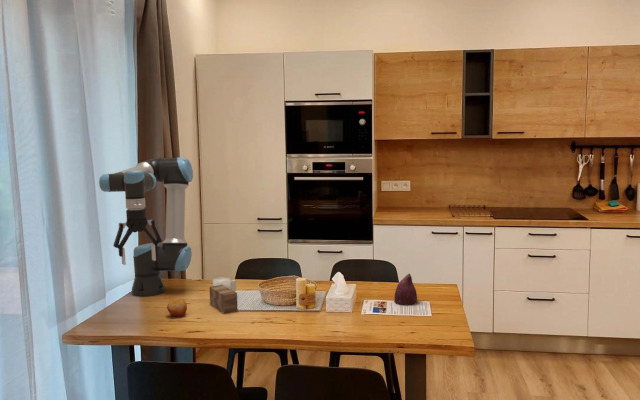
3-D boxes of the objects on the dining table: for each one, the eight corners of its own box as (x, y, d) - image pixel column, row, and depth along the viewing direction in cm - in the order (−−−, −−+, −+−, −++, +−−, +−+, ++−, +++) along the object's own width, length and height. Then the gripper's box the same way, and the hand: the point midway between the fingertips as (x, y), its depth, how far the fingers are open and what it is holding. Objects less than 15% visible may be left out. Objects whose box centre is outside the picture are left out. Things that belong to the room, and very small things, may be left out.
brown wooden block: (210, 304, 260) (209, 286, 259) (222, 302, 263) (222, 284, 262) (224, 313, 247) (223, 295, 246) (237, 311, 250) (236, 292, 249)
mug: (210, 297, 270) (209, 278, 269) (232, 294, 276) (231, 275, 275) (217, 302, 263) (216, 282, 262) (239, 298, 269) (238, 278, 268)
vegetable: (420, 310, 256) (428, 279, 251) (399, 310, 252) (407, 279, 247) (408, 298, 265) (417, 268, 260) (388, 298, 261) (396, 268, 256)
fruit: (191, 307, 251) (187, 295, 246) (186, 322, 245) (182, 309, 240) (172, 307, 252) (168, 294, 247) (167, 322, 245) (163, 309, 241)
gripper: (107, 212, 226) (111, 268, 228) (168, 207, 238) (170, 259, 241) (103, 210, 232) (106, 264, 235) (162, 205, 245) (165, 256, 247)
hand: (139, 262), depth 238 cm, fingers open, 11 cm apart
